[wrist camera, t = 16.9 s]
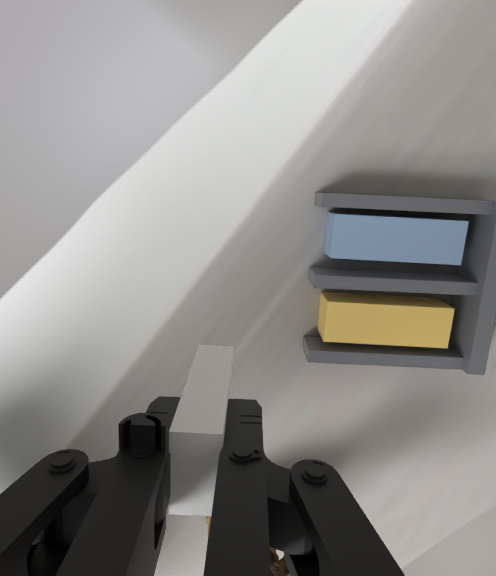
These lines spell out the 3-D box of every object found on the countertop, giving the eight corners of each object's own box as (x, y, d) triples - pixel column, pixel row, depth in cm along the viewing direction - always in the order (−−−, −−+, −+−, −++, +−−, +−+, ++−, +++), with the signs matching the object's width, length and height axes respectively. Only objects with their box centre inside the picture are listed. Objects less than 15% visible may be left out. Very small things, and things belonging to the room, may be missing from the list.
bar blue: (323, 251, 41) (330, 258, 37) (327, 211, 40) (335, 214, 37) (441, 258, 41) (460, 265, 38) (447, 218, 40) (468, 221, 37)
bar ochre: (317, 327, 43) (323, 341, 39) (320, 291, 42) (327, 301, 38) (430, 334, 43) (447, 348, 39) (436, 297, 42) (454, 308, 38)
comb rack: (302, 346, 43) (309, 366, 39) (315, 192, 40) (324, 192, 35) (458, 354, 43) (484, 374, 39) (485, 200, 40) (518, 202, 35)
